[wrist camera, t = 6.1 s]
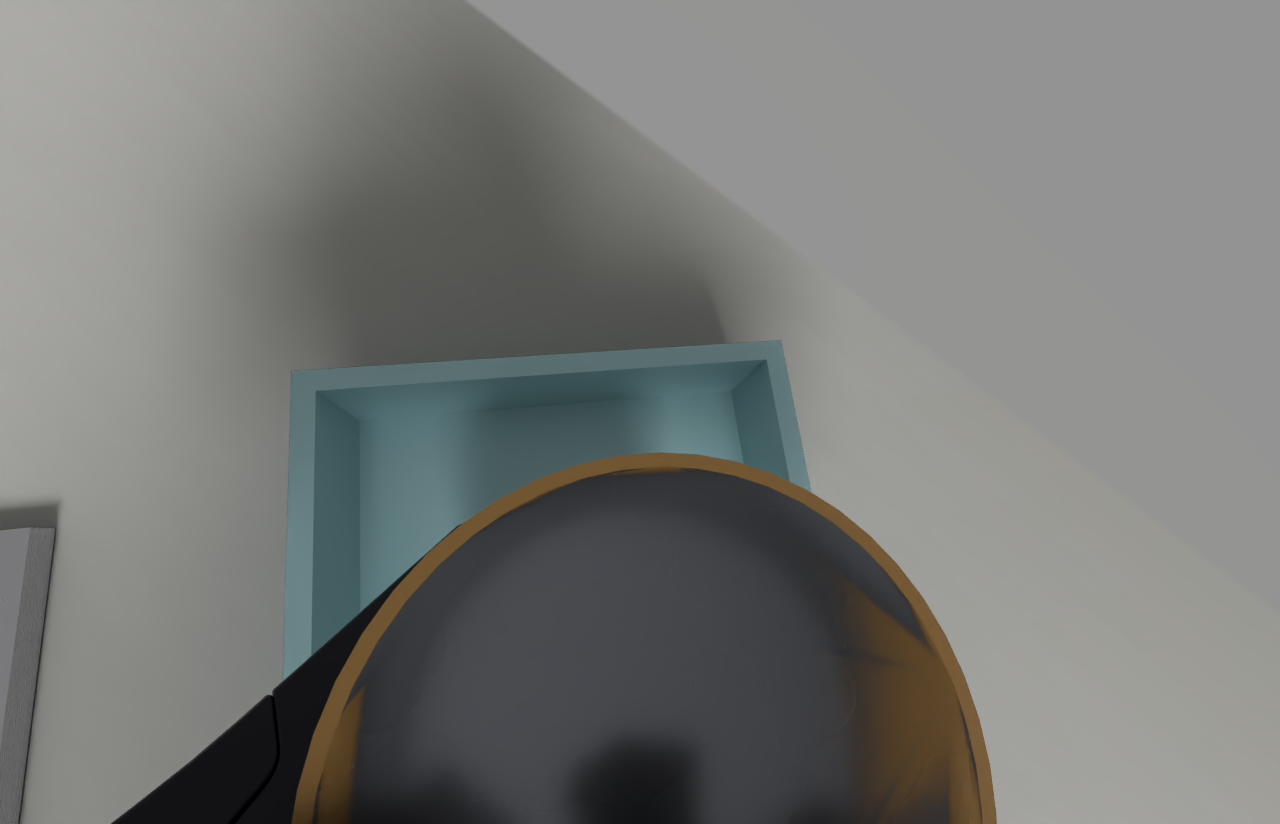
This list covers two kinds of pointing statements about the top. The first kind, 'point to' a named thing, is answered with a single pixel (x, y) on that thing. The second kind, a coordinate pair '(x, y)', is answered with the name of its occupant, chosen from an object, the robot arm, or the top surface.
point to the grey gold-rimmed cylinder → (651, 668)
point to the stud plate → (20, 651)
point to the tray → (494, 450)
